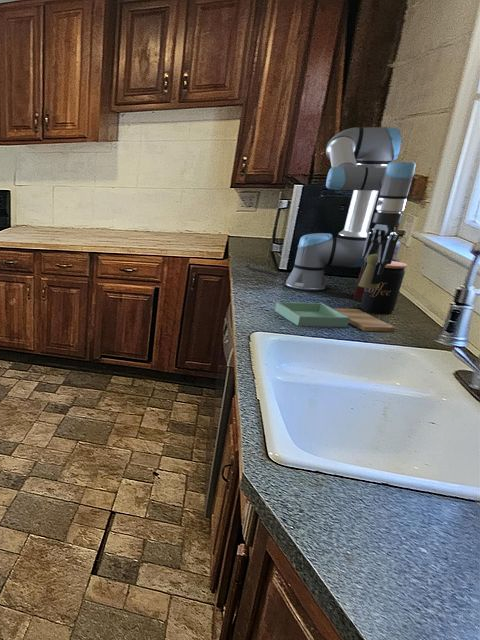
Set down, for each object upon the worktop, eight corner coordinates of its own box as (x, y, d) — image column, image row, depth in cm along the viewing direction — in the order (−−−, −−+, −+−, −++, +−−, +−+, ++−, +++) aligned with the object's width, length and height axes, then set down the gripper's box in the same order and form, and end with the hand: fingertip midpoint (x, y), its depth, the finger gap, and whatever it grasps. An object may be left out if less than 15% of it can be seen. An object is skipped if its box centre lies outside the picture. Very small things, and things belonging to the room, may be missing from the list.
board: (328, 312, 197) (329, 308, 197) (356, 312, 197) (357, 308, 196) (363, 330, 177) (364, 326, 176) (394, 331, 176) (395, 327, 176)
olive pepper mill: (356, 286, 182) (364, 254, 178) (360, 283, 186) (368, 252, 182) (377, 289, 178) (386, 256, 174) (380, 286, 182) (389, 254, 178)
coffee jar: (353, 308, 202) (365, 261, 196) (371, 305, 206) (384, 259, 200) (381, 315, 193) (395, 266, 187) (399, 312, 197) (413, 264, 191)
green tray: (274, 310, 198) (276, 302, 197) (319, 311, 198) (321, 302, 196) (297, 326, 181) (299, 316, 180) (347, 327, 180) (349, 317, 179)
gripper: (361, 209, 181) (344, 275, 190) (394, 214, 165) (374, 287, 173) (383, 209, 181) (365, 276, 189) (419, 215, 164) (398, 288, 173)
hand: (369, 281), depth 181 cm, fingers closed on olive pepper mill, 5 cm apart
